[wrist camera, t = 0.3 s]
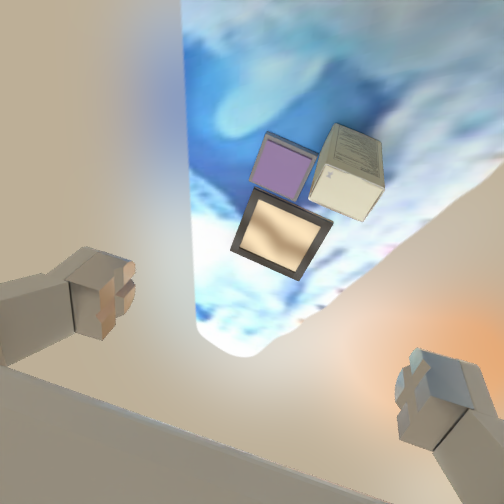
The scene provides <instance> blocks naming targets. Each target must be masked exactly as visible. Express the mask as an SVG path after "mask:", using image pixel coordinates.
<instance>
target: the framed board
mask: <svg viewBox="0 0 504 504" xmlns="http://www.w3.org/2000/svg"><path fill="white" fill-rule="evenodd" d="M332 225H333V221H331V220H329V219H326V218H324V217H322V216H320V215H317V214H315V213H313V212H311V211H308V210H306V209H304V208H302V207H299V206H297V205H295V204H293V203H291V202H288V201H286V200H284V199H282V198H279V197H277V196H275V195H273V194H270V193H268V192H266V191H264V190H261V189H259V188H257V187H254V189H253V191H252V194H251V196H250V199H249V202H248V204H247V207H246V209H245V212H244V215H243V217H242V220H241V223H240V225H239V228H238V230H237V233H236V236H235V238H234V241H233V243H232V246H231V249H230V251H232V252H234V253H237V254H239V255H241V256H243V257H245V258H248V259H250V260H252V261H254V262H257V263H259V264H261V265H263V266H265V267H268V268H270V269H272V270H274V271H277V272H279V273H281V274H283V275H285V276H288V277H290V278H292V279H294V280H297V281H300V279H301V277H302V276H303V274H304V272H305V270H306V269H307V267H308V265H309V264H310V262H311V260H312V259H313V257H314V255H315V254H316V252H317V250H318V249H319V247H320V245H321V244H322V242H323V240H324V239H325V237H326V235H327V234H328V232H329V230H330V229H331V227H332Z"/></svg>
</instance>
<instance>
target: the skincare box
mask: <svg viewBox="0 0 504 504" xmlns="http://www.w3.org/2000/svg"><path fill="white" fill-rule="evenodd" d="M384 191H385V185H384V172H383V160H382V147H381V142H379V141H377V140H375V139H373V138H371V137H369V136H366V135H364V134H362V133H359V132H357V131H355V130H352V129H350V128H347V127H345V126H342V125H339V124H337V123H335V124H334V125H333V127H332V129H331V131H330V133H329V135H328V137H327V139H326V141H325V143H324V145H323V147H322V150H321V152H320V155H319V159H318V163H317V167H316V170H315V174H314V178H313V182H312V185H311V189H310V193H309V197H308V199H309V200H311V201H313V202H315V203H317V204H319V205H321V206H323V207H326V208H328V209H330V210H333V211H335V212H338V213H340V214H342V215H345V216H347V217H350V218H353V219H355V220H358V221H360V222H363V221H364V220H365V218H366V217H367V216H368V214H369V213H370V212H371V210H372V209H373V207H374V206H375V204H376V203H377V202H378V200H379V199H380V197H381V196H382V194H383V193H384Z"/></svg>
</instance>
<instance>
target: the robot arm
mask: <svg viewBox="0 0 504 504" xmlns="http://www.w3.org/2000/svg"><path fill="white" fill-rule="evenodd" d="M134 274H135V263H134V262H133V261H131V260H127V259H124V258H121V257H118V256H116V255H112V254H109V253H107V252H103V251H100V250H96V249H93V248H90V247H82V248H80V249H79V250H78V251H76V252H75V253H74V254H72V255H71V256H70V257H68V258H67V259H66V260H65V261H63V262H62V263H61V264H59V265H58V266H57V267H56V268H54V269H53V270H51V271H50V272H49V273H47V274H46V275H45V274H42V273H40V274H36V275H32V276H28V277H24V278H20V279H16V280H12V281H8V282H4V283H0V504H392V503H390V502H387V501H384V500H381V499H378V498H375V497H372V496H370V495H367V494H364V493H361V492H358V491H356V490H353V489H350V488H347V487H344V486H341V485H339V484H336V483H333V482H330V481H327V480H324V479H321V478H318V477H316V476H313V475H310V474H307V473H304V472H302V471H298V470H296V469H293V468H290V467H287V466H284V465H282V464H279V463H276V462H273V461H270V460H268V459H265V458H262V457H259V456H256V455H253V454H251V453H248V452H245V451H242V450H239V449H237V448H234V447H231V446H228V445H225V444H222V443H219V442H217V441H214V440H211V439H208V438H205V437H203V436H200V435H197V434H194V433H191V432H188V431H186V430H183V429H180V428H177V427H175V426H172V425H169V424H166V423H163V422H160V421H158V420H155V419H152V418H149V417H146V416H143V415H140V414H138V413H135V412H132V411H129V410H127V409H124V408H121V407H118V406H115V405H112V404H109V403H107V402H104V401H101V400H98V399H95V398H92V397H90V396H87V395H84V394H81V393H78V392H76V391H73V390H70V389H67V388H64V387H61V386H58V385H56V384H53V383H50V382H47V381H44V380H42V379H39V378H36V377H33V376H30V375H28V374H25V373H22V372H19V371H16V370H13V369H10V368H8V367H7V366H9V365H11V364H13V363H15V362H18V361H20V360H22V359H24V358H26V357H28V356H30V355H32V354H34V353H36V352H38V351H40V350H42V349H44V348H46V347H48V346H50V345H52V344H54V343H57V342H58V341H61V340H63V339H65V338H67V337H69V336H71V335H73V334H74V332H75V333H78V334H82V335H85V336H88V337H92V338H95V339H99V340H102V341H103V339H104V338H105V337H106V336H107V335H108V333H109V332H110V331H111V330H112V329H113V328H114V326H115V325H116V318H117V317H120V316H122V315H124V314H125V313H126V312H127V310H128V309H129V308H130V306H131V304H132V302H133V300H134V296H135V284H134V282H133V281H132V279H131V278H132V276H133V275H134ZM409 359H410V365H409V366H407V367H404V368H402V370H401V372H400V374H399V376H398V378H397V382H396V385H395V402H396V404H397V405H398V406H399V408H400V409H401V411H400V413H399V414H398V416H397V421H398V431H399V439H400V440H401V441H404V442H407V443H410V444H412V445H415V446H418V447H421V448H423V449H427V450H429V451H432V452H433V455H434V457H435V459H436V460H437V462H438V464H439V465H440V467H441V469H442V470H443V472H444V474H445V475H446V477H447V479H448V480H449V482H450V483H451V485H452V487H453V488H454V490H455V492H456V493H457V495H458V497H459V498H460V500H461V502H462V503H463V504H504V420H502V419H499V418H498V416H497V413H496V410H495V408H494V405H493V402H492V400H491V397H490V394H489V392H488V389H487V386H486V383H485V381H484V378H483V375H482V373H481V370H480V368H479V367H478V366H477V365H476V364H474V363H470V362H466V361H463V360H459V359H453V358H451V357H447V356H444V355H441V354H437V353H434V352H430V351H427V350H424V349H421V348H416V349H415V350H414V351H413V352H412V353H411V355H410V357H409Z"/></svg>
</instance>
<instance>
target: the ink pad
mask: <svg viewBox="0 0 504 504" xmlns="http://www.w3.org/2000/svg"><path fill="white" fill-rule="evenodd" d="M317 157H318V153H316V152H314V151H311V150H309V149H307V148H305V147H302V146H300V145H298V144H296V143H293V142H291V141H289V140H287V139H284V138H282V137H280V136H278V135H275V134H273V133H271V132H269V131H267V133H266V134H265V137H264V140H263V142H262V145H261V148H260V151H259V153H258V156H257V159H256V161H255V164H254V167H253V170H252V172H251V175H250V178H249V181H250V182H252V183H255V184H257V185H259V186H261V187H264V188H266V189H268V190H270V191H273V192H275V193H277V194H279V195H282V196H284V197H286V198H288V199H290V200H293V201H295V202H296V200H297V198H298V196H299V194H300V192H301V190H302V188H303V186H304V184H305V182H306V179H307V177H308V175H309V173H310V171H311V169H312V167H313V165H314V163H315V161H316V159H317Z"/></svg>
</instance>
